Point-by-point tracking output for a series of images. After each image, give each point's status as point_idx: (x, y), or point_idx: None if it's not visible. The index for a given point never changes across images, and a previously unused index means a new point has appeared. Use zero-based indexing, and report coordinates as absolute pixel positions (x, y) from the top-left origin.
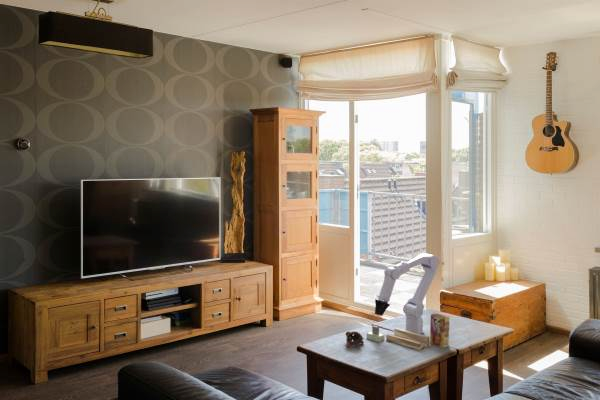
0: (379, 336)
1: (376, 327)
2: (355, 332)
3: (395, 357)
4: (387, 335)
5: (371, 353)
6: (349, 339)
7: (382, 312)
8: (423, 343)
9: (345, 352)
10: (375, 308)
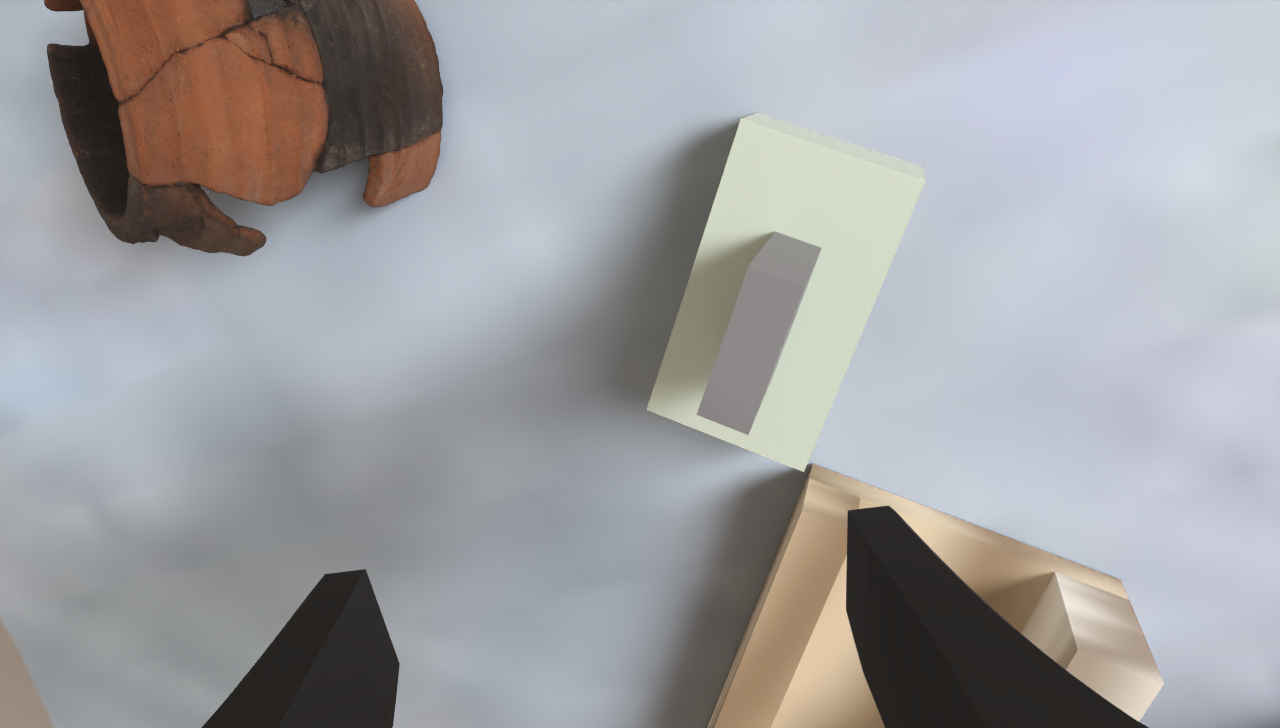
0: (659, 414)
1: (709, 379)
2: (117, 100)
3: None
4: (794, 528)
5: (201, 408)
6: None
7: (882, 693)
8: None
9: (20, 74)
10: (213, 716)
